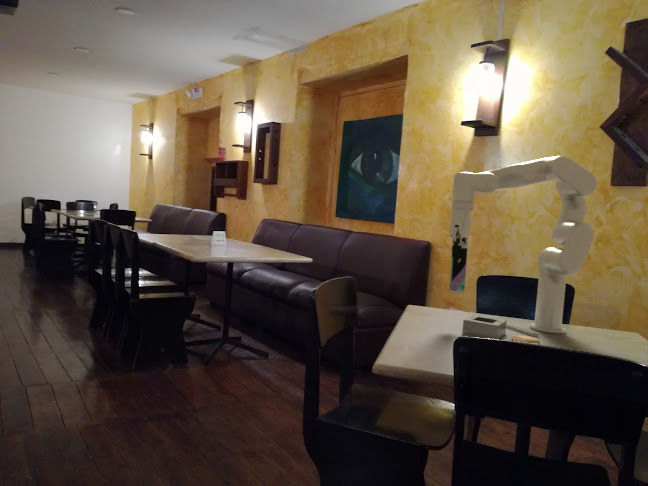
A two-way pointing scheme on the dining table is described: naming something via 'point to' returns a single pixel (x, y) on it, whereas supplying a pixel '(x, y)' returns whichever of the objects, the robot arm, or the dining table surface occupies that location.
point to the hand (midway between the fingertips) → (459, 255)
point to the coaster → (525, 339)
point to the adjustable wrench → (521, 330)
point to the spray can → (458, 271)
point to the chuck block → (484, 326)
